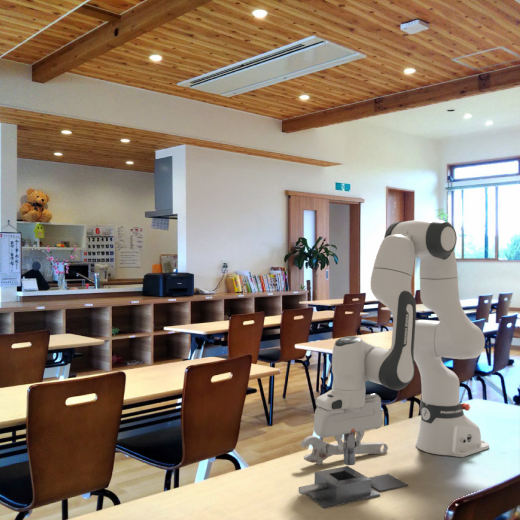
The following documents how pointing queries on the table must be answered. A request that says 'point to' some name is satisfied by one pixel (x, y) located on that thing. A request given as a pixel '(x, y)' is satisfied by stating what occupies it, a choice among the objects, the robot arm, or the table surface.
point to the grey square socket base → (339, 487)
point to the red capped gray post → (349, 448)
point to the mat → (386, 482)
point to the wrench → (336, 449)
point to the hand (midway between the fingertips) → (349, 448)
